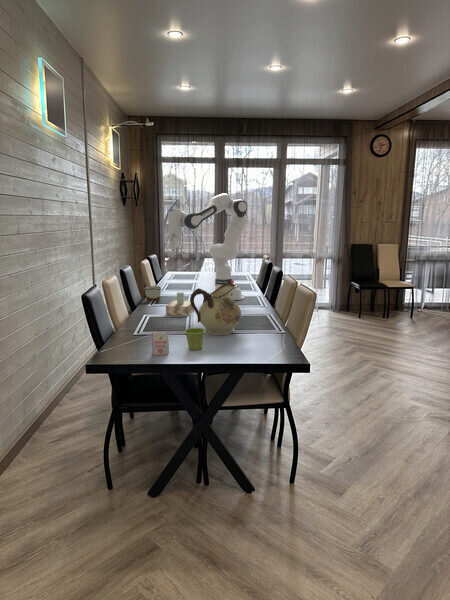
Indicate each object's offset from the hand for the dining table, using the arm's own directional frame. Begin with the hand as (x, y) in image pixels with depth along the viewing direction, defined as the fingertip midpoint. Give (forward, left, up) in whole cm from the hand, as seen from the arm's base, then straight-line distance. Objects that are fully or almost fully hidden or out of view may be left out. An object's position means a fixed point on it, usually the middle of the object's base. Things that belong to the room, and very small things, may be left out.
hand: (175, 254), depth 284 cm
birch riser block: (-8, +26, -34) cm, 44 cm away
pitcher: (-38, +68, -34) cm, 85 cm away
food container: (+18, -6, -34) cm, 39 cm away
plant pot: (-30, +95, -34) cm, 105 cm away
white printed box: (-16, +104, -34) cm, 110 cm away
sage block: (-8, +26, -28) cm, 39 cm away
